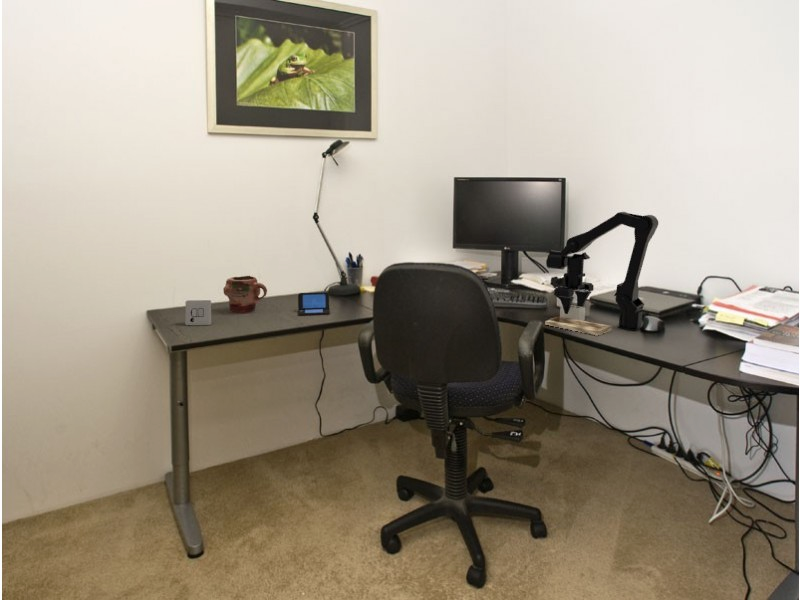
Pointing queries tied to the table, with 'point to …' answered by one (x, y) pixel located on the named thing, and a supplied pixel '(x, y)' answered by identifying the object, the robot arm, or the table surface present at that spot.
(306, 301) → the handheld game console
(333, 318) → the table surface
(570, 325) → the board
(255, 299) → the reddish brown mug
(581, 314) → the white rectangular block
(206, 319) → the electrical switch
